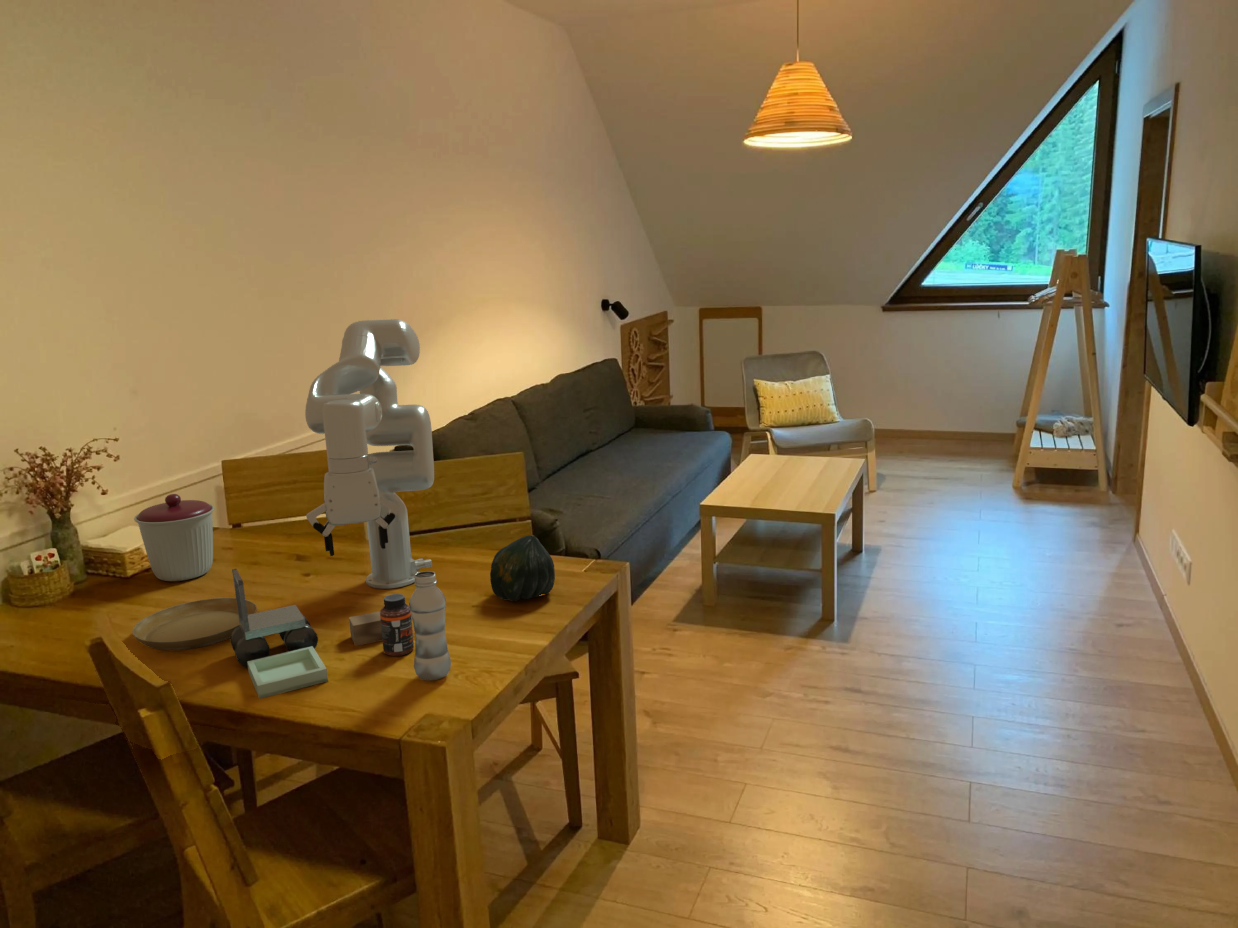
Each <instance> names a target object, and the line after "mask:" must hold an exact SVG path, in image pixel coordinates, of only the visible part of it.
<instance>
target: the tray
mask: <svg viewBox="0 0 1238 928" xmlns="http://www.w3.org/2000/svg"><path fill="white" fill-rule="evenodd" d="M315 649H316V648H315ZM315 649H314V648H313V646H311V647H307V648H302V649H298V650H294V651H290V652H289V651H286V652H281V653H277V654H273V655H269V656H268V657H264V658H260V659H256V660H251V661H247V664H248V668H247V670H248V675H249V678H250V679H251V682H252V684H253V688H254V689H255V692H256V693H257V697H258V699H259V700H261V699H264V698H268V697H273V696H275V695H280V694H285V693H288V692H293V691H296V690H299V689H303V688H307V687H312V686H315V685H318V684H319V685H320V684H323V683H327V682H329V677H328V669H327V667H326V666H325V663H324V662H323V660H322V658H320V656H319V654H318V652H317V650H315Z"/></svg>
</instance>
